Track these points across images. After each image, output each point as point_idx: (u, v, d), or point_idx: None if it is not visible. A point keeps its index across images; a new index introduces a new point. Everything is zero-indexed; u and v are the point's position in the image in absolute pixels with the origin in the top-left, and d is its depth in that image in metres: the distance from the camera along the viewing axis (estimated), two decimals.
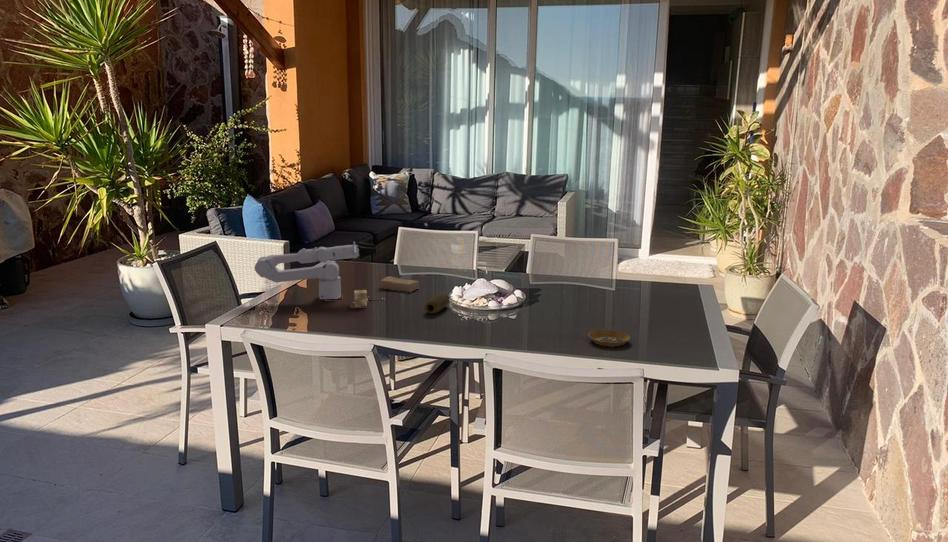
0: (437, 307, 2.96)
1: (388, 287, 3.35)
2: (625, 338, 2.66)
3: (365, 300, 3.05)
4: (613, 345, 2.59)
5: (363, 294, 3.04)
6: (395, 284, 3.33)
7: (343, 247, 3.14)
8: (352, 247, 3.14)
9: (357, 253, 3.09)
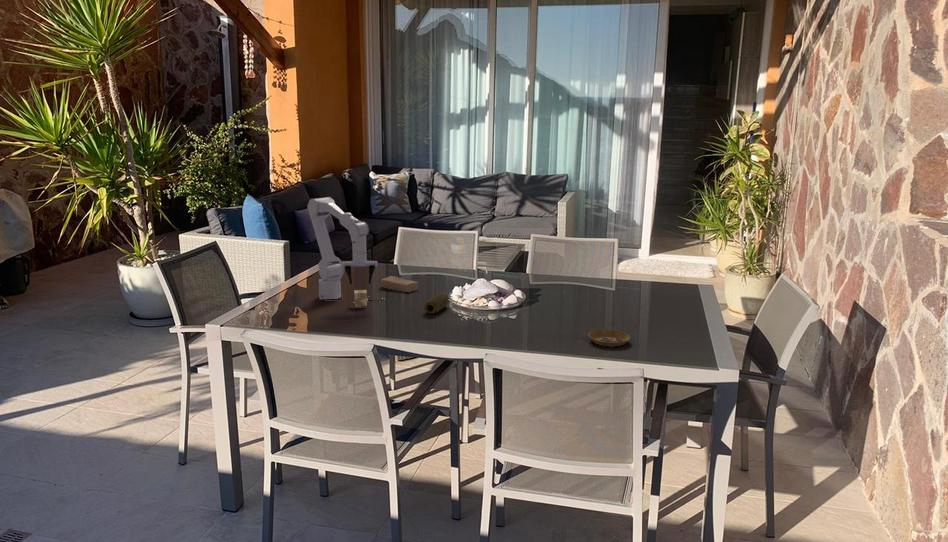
0: (437, 307, 2.96)
1: (388, 287, 3.36)
2: (625, 338, 2.66)
3: (365, 300, 3.05)
4: (613, 345, 2.59)
5: (363, 294, 3.04)
6: (394, 284, 3.33)
7: (355, 252, 3.00)
8: (355, 261, 3.01)
9: (342, 265, 3.02)
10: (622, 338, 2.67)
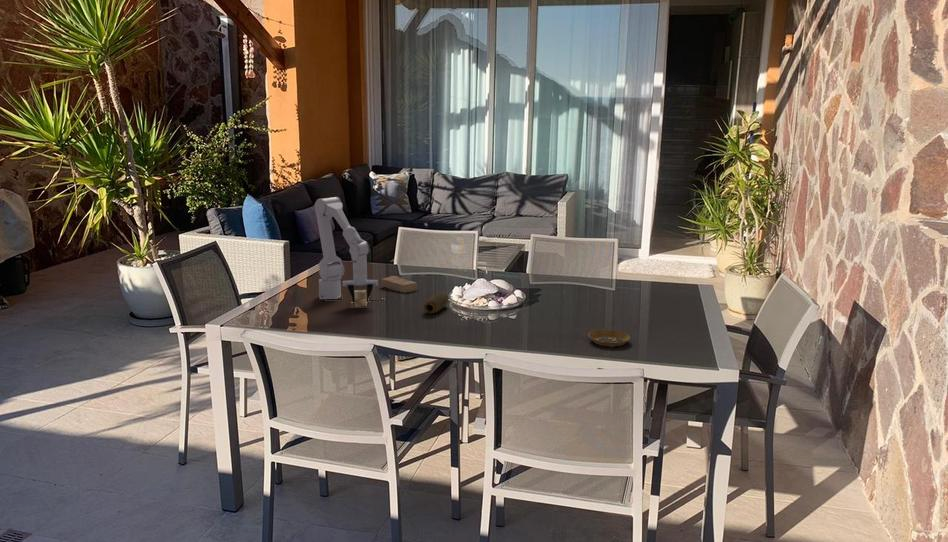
0: (436, 307, 2.96)
1: (387, 286, 3.37)
2: (625, 338, 2.66)
3: (365, 300, 3.05)
4: (613, 345, 2.59)
5: (363, 294, 3.04)
6: (393, 284, 3.34)
7: (356, 272, 3.02)
8: (355, 280, 3.03)
9: None
10: (622, 338, 2.67)
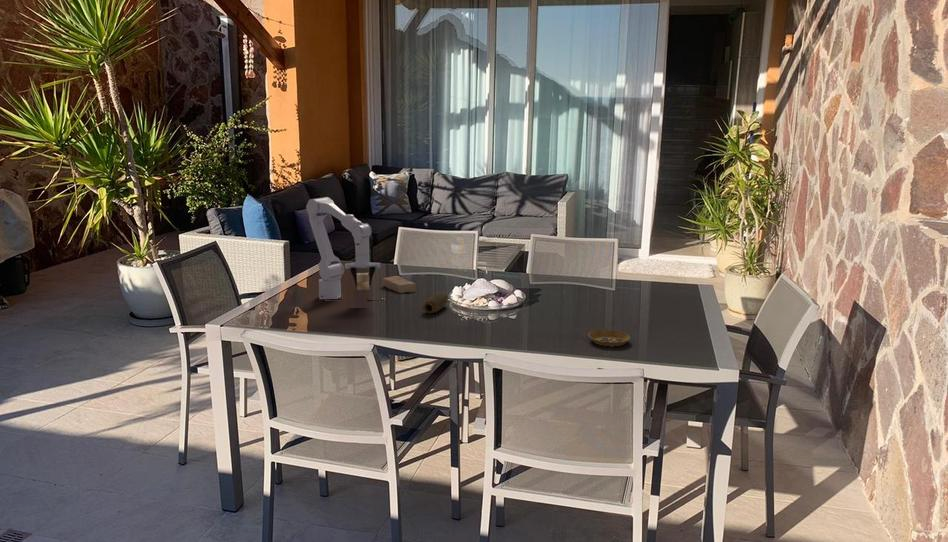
0: (435, 307, 2.96)
1: (387, 286, 3.37)
2: (625, 338, 2.66)
3: (367, 283, 3.05)
4: (613, 345, 2.59)
5: (365, 277, 3.05)
6: (391, 283, 3.34)
7: (358, 254, 3.02)
8: (357, 263, 3.03)
9: (345, 267, 3.05)
10: (622, 338, 2.67)
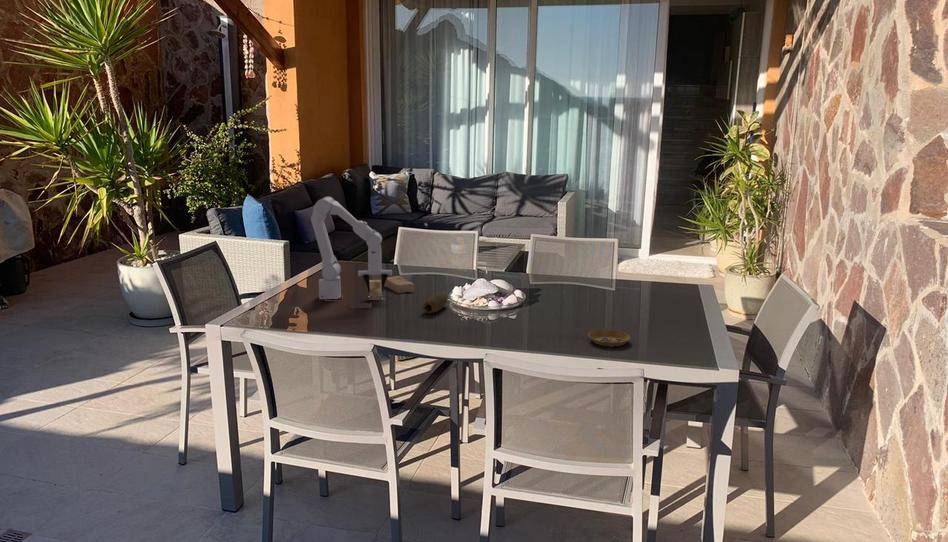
0: (435, 307, 2.96)
1: (387, 286, 3.38)
2: (625, 338, 2.66)
3: (380, 289, 3.15)
4: (613, 345, 2.59)
5: (378, 284, 3.14)
6: (391, 283, 3.34)
7: (371, 262, 3.12)
8: (370, 270, 3.13)
9: (358, 274, 3.15)
10: (622, 338, 2.67)
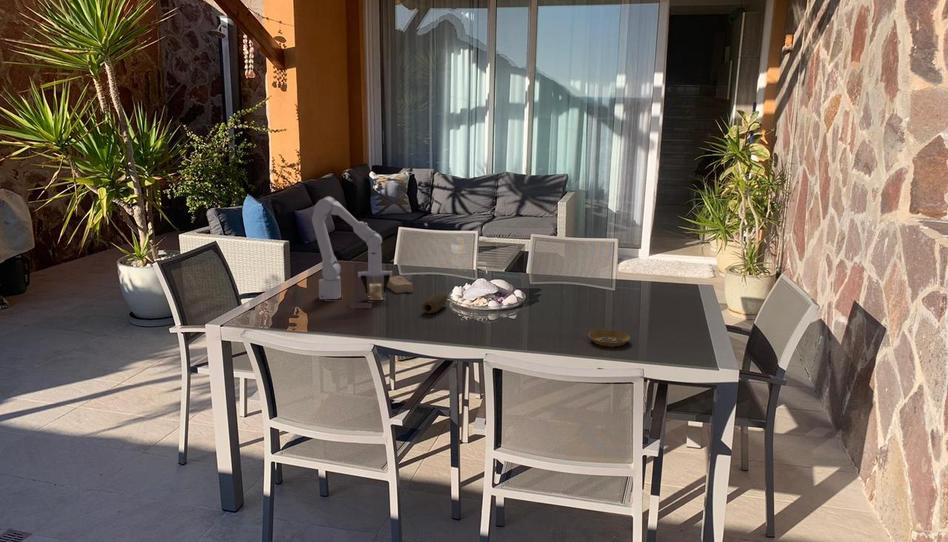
0: (435, 307, 2.96)
1: (388, 285, 3.38)
2: (625, 338, 2.66)
3: (380, 293, 3.16)
4: (613, 345, 2.59)
5: (378, 287, 3.15)
6: (390, 283, 3.34)
7: (371, 263, 3.12)
8: (370, 271, 3.13)
9: (358, 275, 3.15)
10: (622, 338, 2.67)
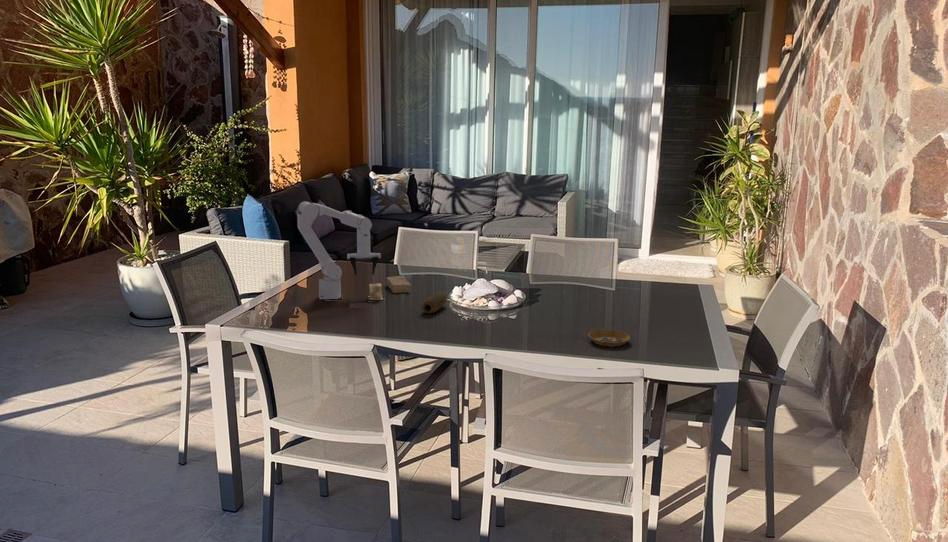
0: (434, 307, 2.96)
1: (388, 285, 3.39)
2: (625, 338, 2.66)
3: (380, 293, 3.16)
4: (613, 345, 2.59)
5: (378, 287, 3.15)
6: (390, 283, 3.35)
7: (360, 245, 3.19)
8: (359, 253, 3.20)
9: (347, 257, 3.21)
10: (622, 338, 2.67)
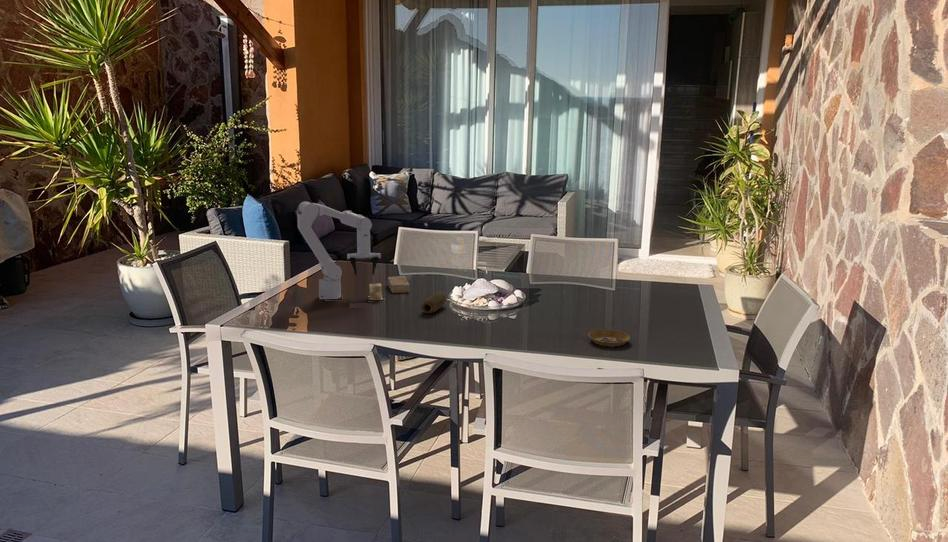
0: (434, 307, 2.96)
1: (388, 285, 3.39)
2: (625, 338, 2.66)
3: (380, 293, 3.16)
4: (613, 345, 2.59)
5: (378, 287, 3.15)
6: (389, 283, 3.35)
7: (360, 245, 3.19)
8: (359, 253, 3.20)
9: (347, 257, 3.21)
10: (622, 338, 2.67)
